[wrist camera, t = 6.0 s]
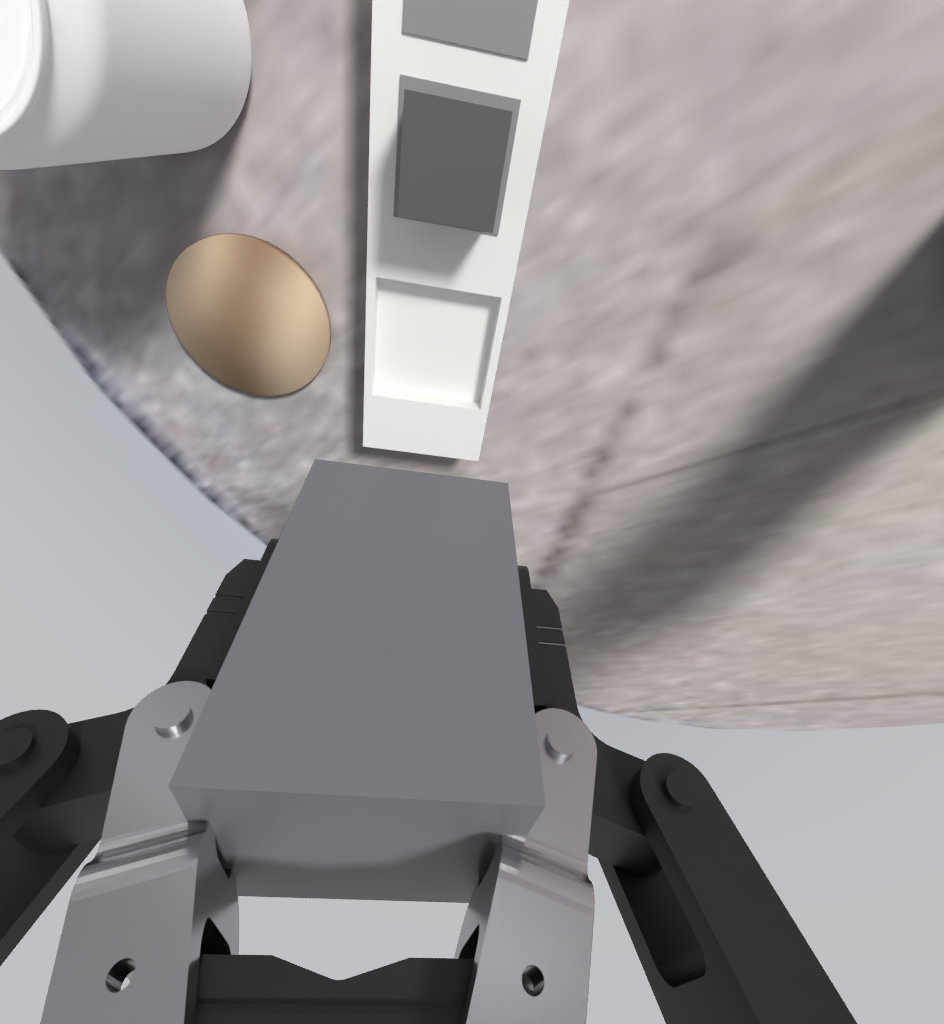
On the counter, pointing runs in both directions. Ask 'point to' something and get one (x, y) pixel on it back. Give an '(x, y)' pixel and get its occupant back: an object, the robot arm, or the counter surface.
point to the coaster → (248, 314)
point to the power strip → (442, 266)
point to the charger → (373, 697)
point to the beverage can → (118, 78)
